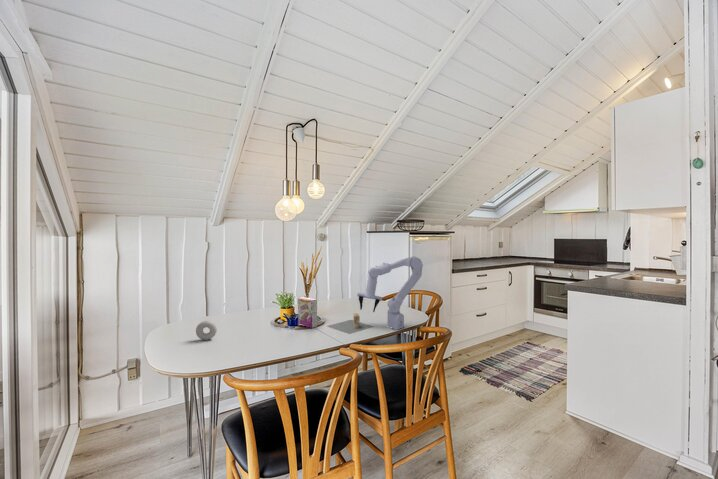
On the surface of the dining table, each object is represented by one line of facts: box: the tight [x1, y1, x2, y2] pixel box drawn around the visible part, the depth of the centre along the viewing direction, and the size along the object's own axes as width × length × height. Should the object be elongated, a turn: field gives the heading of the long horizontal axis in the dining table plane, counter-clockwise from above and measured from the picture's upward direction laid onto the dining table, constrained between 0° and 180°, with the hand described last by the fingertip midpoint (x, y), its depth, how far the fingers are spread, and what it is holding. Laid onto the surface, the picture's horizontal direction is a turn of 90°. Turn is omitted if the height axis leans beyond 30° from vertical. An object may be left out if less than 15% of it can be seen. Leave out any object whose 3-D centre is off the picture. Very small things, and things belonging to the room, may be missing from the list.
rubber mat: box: [326, 319, 375, 335], centre depth 196 cm, size 20×20×1 cm
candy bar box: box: [297, 296, 318, 329], centre depth 198 cm, size 11×5×16 cm, turn 58°
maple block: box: [352, 313, 360, 328], centre depth 195 cm, size 3×6×7 cm, turn 5°
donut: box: [195, 320, 218, 341], centre depth 173 cm, size 10×4×10 cm, turn 104°
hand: (367, 310), depth 197 cm, fingers open, 7 cm apart
